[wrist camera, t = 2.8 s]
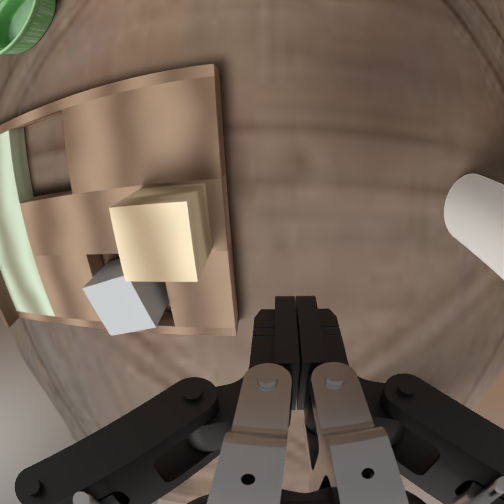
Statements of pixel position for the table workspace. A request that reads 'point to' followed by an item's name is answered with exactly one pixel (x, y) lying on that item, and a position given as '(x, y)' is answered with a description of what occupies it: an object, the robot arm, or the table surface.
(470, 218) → the cylindrical container
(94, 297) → the trapped grey cube
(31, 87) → the table surface
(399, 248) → the table surface
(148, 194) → the maple cube
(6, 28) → the ramekin
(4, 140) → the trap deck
